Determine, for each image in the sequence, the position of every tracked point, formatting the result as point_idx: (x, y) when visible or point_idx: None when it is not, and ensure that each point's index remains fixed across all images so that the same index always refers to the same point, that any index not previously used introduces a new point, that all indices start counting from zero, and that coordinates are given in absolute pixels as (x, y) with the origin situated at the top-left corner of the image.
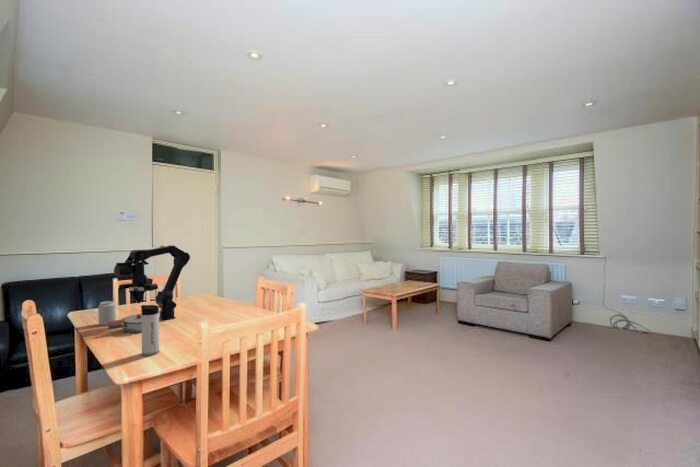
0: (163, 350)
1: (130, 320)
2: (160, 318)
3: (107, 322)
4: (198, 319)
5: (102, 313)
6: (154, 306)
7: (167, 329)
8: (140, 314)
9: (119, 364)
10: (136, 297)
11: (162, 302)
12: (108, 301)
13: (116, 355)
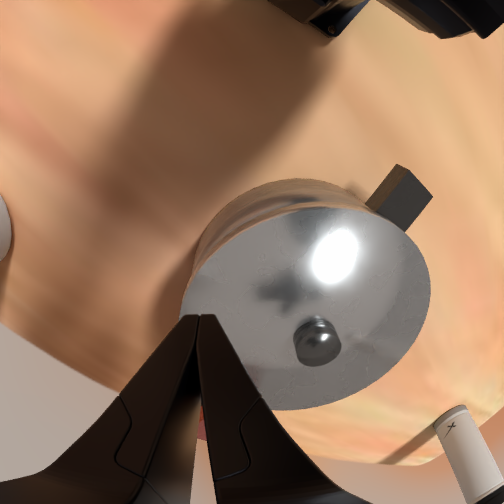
0: (472, 397)
1: (303, 399)
2: (422, 200)
3: (2, 255)
4: None
5: None
6: (501, 501)
7: (456, 246)
8: (320, 340)
9: (404, 455)
10: (192, 453)
11: (449, 37)
12: None
13: (377, 448)
